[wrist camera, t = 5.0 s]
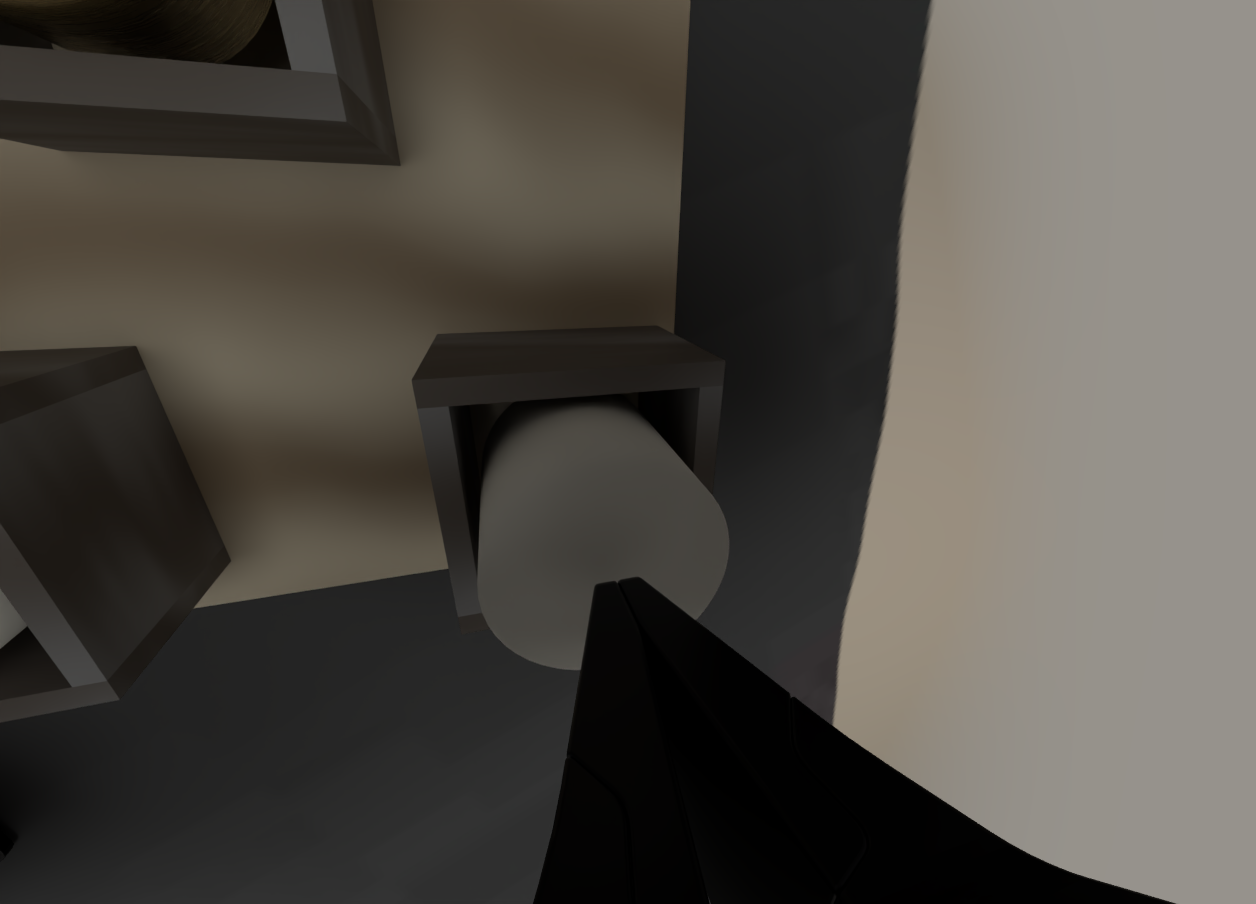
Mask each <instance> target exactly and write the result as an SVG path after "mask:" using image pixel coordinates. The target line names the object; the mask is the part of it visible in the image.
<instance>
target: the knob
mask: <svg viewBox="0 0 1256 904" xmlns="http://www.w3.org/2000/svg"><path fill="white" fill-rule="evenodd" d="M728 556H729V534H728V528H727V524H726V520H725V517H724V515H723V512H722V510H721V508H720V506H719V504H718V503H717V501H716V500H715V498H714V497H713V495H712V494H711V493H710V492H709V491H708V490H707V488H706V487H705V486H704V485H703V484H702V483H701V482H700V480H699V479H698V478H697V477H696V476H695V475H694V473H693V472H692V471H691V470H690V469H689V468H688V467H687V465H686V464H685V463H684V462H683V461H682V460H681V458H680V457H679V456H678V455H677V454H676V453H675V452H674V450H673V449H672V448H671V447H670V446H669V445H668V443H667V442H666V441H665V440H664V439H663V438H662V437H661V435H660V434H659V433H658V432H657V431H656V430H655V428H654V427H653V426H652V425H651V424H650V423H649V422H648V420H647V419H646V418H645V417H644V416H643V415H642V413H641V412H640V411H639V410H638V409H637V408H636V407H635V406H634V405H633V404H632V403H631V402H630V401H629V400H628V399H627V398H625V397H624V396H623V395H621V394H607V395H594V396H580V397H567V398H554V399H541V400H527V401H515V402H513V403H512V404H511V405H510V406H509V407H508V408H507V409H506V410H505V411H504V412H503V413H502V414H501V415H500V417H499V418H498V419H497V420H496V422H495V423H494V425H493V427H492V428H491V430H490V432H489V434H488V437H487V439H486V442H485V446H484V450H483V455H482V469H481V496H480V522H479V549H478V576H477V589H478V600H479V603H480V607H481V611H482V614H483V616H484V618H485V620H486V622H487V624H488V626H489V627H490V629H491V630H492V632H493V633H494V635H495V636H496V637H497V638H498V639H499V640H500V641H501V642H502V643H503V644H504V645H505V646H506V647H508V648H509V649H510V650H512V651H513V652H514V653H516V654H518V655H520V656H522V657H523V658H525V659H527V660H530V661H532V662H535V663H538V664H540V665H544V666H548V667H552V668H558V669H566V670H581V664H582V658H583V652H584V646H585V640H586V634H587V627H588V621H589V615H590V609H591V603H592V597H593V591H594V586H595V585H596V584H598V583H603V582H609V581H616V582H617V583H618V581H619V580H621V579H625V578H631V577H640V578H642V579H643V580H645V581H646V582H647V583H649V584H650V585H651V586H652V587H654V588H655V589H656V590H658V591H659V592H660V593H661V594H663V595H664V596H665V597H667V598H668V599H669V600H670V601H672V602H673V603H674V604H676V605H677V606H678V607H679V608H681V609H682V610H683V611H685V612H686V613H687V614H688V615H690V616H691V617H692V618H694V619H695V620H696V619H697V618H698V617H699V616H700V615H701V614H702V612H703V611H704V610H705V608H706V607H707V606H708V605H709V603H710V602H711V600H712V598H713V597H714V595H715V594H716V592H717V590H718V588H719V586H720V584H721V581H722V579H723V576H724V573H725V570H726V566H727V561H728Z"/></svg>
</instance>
